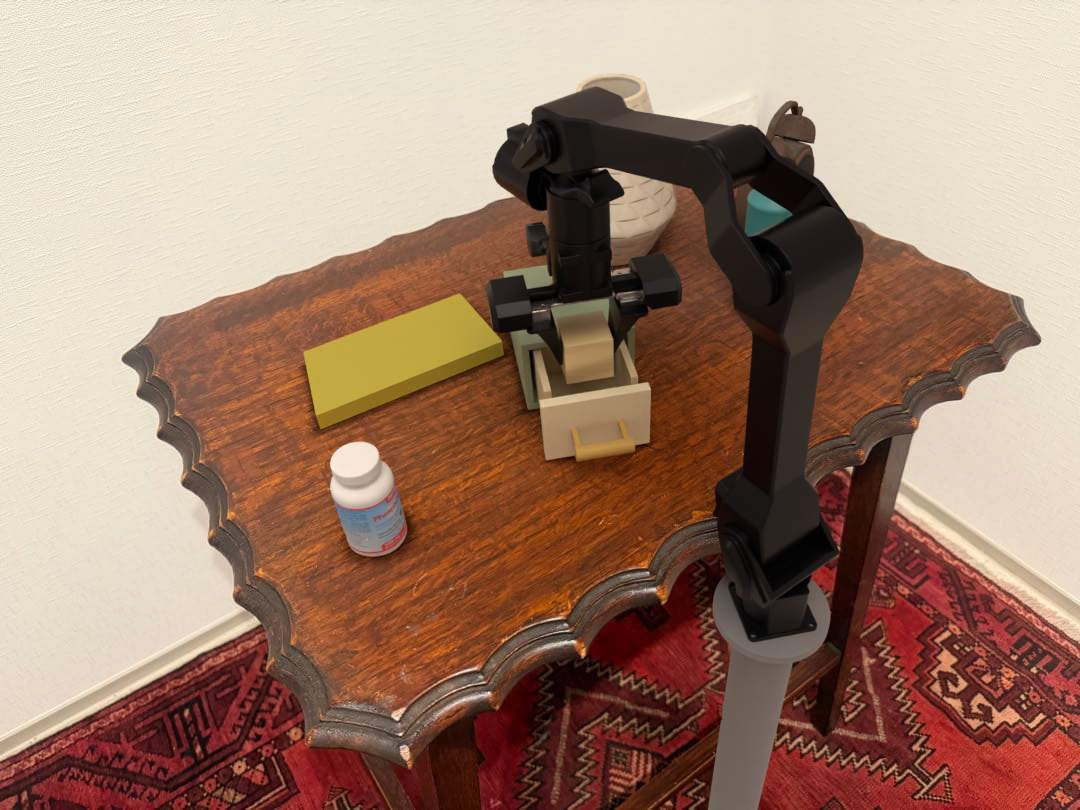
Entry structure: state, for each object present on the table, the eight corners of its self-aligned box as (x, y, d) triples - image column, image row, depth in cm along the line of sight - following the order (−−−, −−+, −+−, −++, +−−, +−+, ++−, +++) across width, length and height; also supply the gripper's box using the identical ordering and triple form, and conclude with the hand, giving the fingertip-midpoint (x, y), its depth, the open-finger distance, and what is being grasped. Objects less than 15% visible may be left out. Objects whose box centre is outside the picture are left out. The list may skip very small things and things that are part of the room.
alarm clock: (774, 278, 115) (793, 137, 102) (723, 264, 119) (736, 125, 105) (813, 226, 124) (836, 89, 111) (765, 215, 127) (781, 80, 114)
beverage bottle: (729, 316, 110) (744, 172, 97) (741, 287, 115) (756, 145, 101) (782, 325, 108) (804, 179, 95) (791, 295, 113) (813, 151, 99)
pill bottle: (398, 562, 85) (375, 486, 78) (339, 556, 86) (311, 480, 79) (415, 515, 90) (395, 438, 82) (359, 509, 91) (334, 433, 83)
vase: (662, 286, 116) (668, 122, 100) (538, 273, 120) (524, 113, 105) (684, 218, 128) (691, 62, 112) (570, 208, 132) (562, 57, 117)
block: (614, 376, 90) (613, 339, 87) (566, 384, 90) (564, 346, 86) (603, 347, 94) (602, 310, 90) (558, 354, 93) (555, 317, 90)
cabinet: (634, 392, 101) (634, 327, 94) (528, 410, 100) (520, 345, 94) (607, 318, 112) (605, 255, 105) (510, 334, 111) (502, 271, 104)
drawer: (660, 471, 90) (662, 417, 85) (553, 490, 90) (548, 436, 84) (620, 364, 103) (620, 311, 98) (526, 379, 103) (521, 327, 97)
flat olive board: (462, 306, 116) (289, 372, 108) (460, 293, 114) (284, 358, 107) (504, 354, 108) (320, 429, 100) (502, 341, 106) (315, 415, 99)
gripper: (654, 174, 87) (652, 300, 98) (470, 201, 86) (488, 326, 96) (686, 231, 79) (680, 362, 89) (483, 262, 78) (501, 391, 88)
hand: (585, 358), depth 91 cm, fingers closed on block, 5 cm apart
